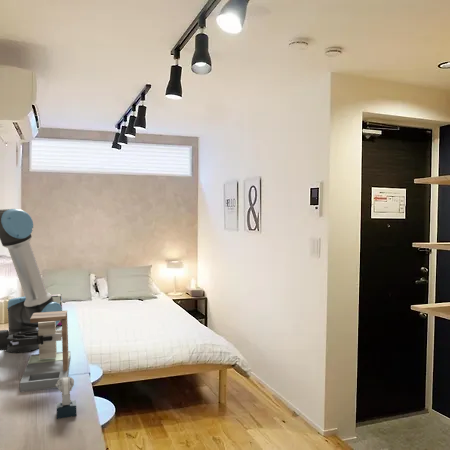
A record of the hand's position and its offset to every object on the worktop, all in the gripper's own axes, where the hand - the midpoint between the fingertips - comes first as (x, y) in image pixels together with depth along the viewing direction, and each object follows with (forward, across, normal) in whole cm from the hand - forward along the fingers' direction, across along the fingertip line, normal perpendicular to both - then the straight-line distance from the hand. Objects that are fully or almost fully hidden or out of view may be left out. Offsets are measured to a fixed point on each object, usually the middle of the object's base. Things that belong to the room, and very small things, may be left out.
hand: (61, 334), depth 185 cm
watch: (+3, +47, -13) cm, 49 cm away
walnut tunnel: (-4, +10, -9) cm, 14 cm away
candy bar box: (-9, -73, -13) cm, 74 cm away
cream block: (-5, 0, -8) cm, 10 cm away
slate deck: (-5, +7, -12) cm, 15 cm away
